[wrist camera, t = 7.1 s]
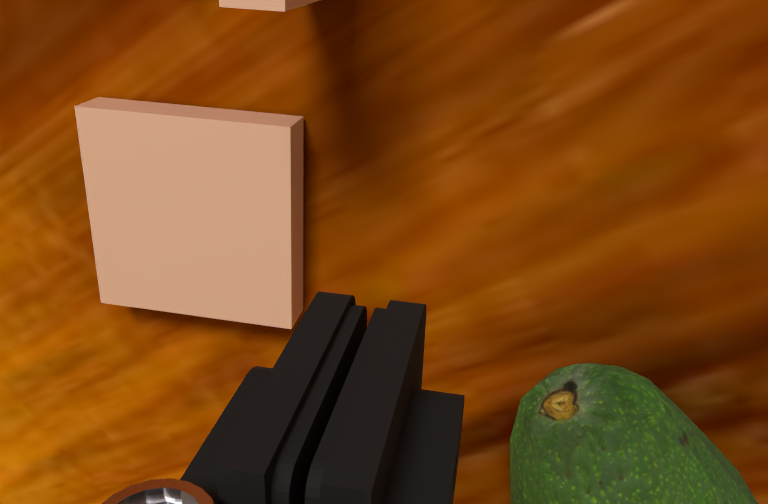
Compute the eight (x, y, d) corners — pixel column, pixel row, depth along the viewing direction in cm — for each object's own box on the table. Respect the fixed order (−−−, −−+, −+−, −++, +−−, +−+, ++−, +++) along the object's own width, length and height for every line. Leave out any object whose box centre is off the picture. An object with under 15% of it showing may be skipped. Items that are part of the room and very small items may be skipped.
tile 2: (305, 114, 29) (103, 95, 30) (290, 127, 27) (74, 106, 28) (305, 306, 33) (124, 282, 34) (291, 329, 31) (101, 302, 32)
